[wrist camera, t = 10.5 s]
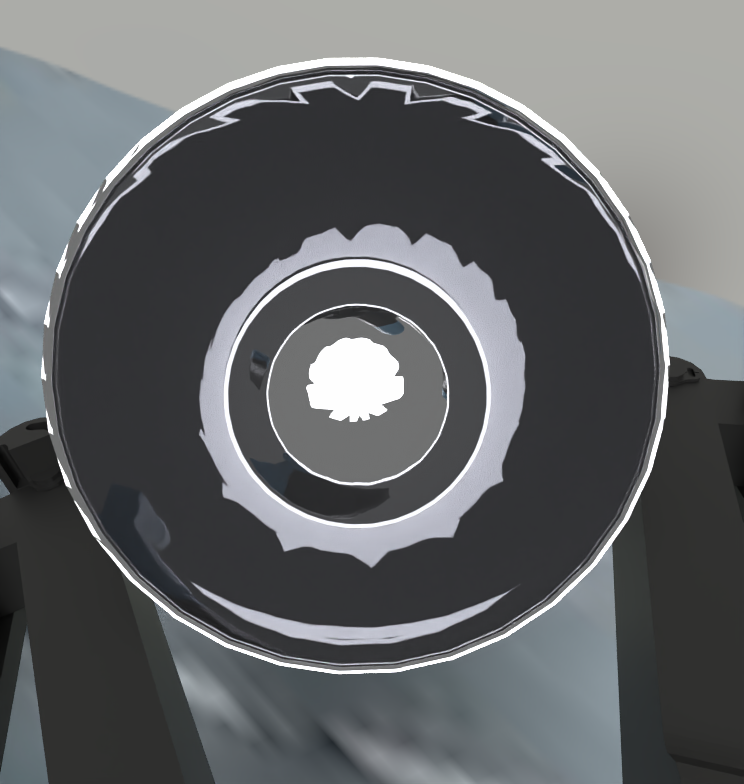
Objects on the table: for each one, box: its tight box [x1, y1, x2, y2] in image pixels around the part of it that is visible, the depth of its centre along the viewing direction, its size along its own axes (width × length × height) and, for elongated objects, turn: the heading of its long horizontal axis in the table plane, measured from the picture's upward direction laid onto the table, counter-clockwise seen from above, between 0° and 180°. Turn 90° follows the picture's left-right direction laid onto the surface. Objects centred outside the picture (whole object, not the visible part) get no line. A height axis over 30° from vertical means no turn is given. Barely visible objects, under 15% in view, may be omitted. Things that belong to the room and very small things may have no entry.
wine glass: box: [42, 58, 670, 674], centre depth 15 cm, size 8×8×15 cm
